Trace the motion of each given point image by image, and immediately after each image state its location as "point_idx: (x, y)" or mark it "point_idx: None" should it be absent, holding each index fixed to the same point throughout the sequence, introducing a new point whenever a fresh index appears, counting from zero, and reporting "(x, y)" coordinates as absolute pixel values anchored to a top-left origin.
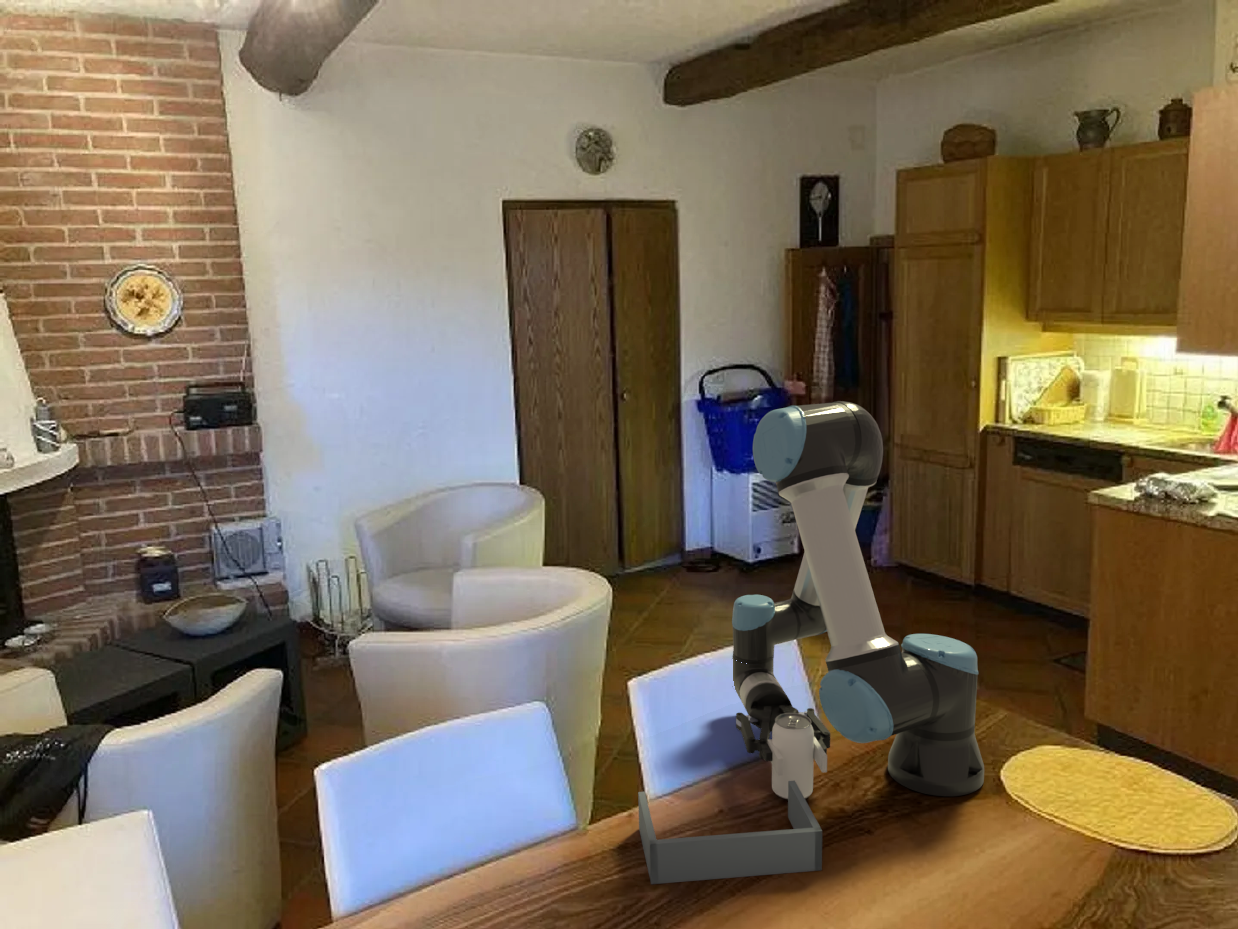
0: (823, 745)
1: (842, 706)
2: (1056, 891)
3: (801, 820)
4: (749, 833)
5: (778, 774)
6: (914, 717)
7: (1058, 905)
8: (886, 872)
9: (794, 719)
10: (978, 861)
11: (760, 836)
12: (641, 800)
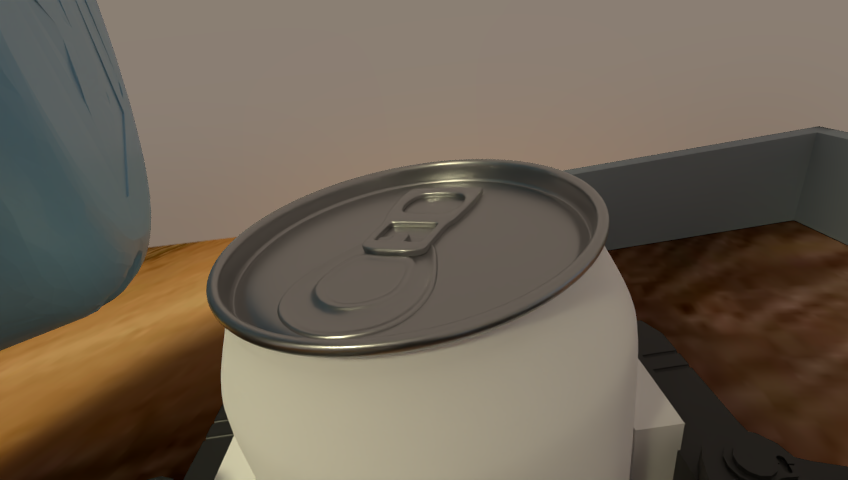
0: (224, 423)
1: (73, 20)
2: (148, 271)
3: None
4: (604, 166)
5: None
6: None
7: (176, 254)
8: None
9: (369, 274)
10: (175, 308)
11: (578, 168)
12: None
